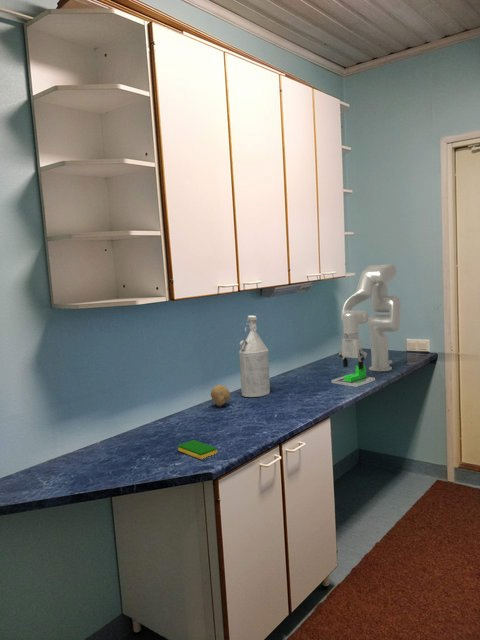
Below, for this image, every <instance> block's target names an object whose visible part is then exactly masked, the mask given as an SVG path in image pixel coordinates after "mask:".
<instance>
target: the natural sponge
mask: <svg viewBox="0 0 480 640" xmlns="http://www.w3.org/2000/svg"><path fill="white" fill-rule="evenodd" d="M210 397H211V400H212V401H213V403H214V404H215V405H216V406H218V407H222V406H224V404H226V403H227V402H229V401H230V399H231V393H230V391H229V389H228V387H226V386H225V385H223V384H217V385H216V386H214V387H212V389H211V390H210Z"/></svg>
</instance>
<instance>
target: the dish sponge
mask: <svg viewBox="0 0 480 640" xmlns="http://www.w3.org/2000/svg"><path fill="white" fill-rule="evenodd" d="M177 447H178V448H177V449H178V451H179V452H180V453H184V454H186V455H188V456H192V457H194V458H196V459H198V460H204V459H206V457H207V458H209V457H211V455H212V456H215V455H217V454H218V450H217V447H215V446H212V445H209V444H206V443H203V442H201V441H198V440H195V439H193V440H189V441H187V442H184V443H181V444H179V445H177ZM216 453H217V454H216ZM214 454H215V455H214ZM208 456H209V457H208ZM203 458H204V459H203Z"/></svg>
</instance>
